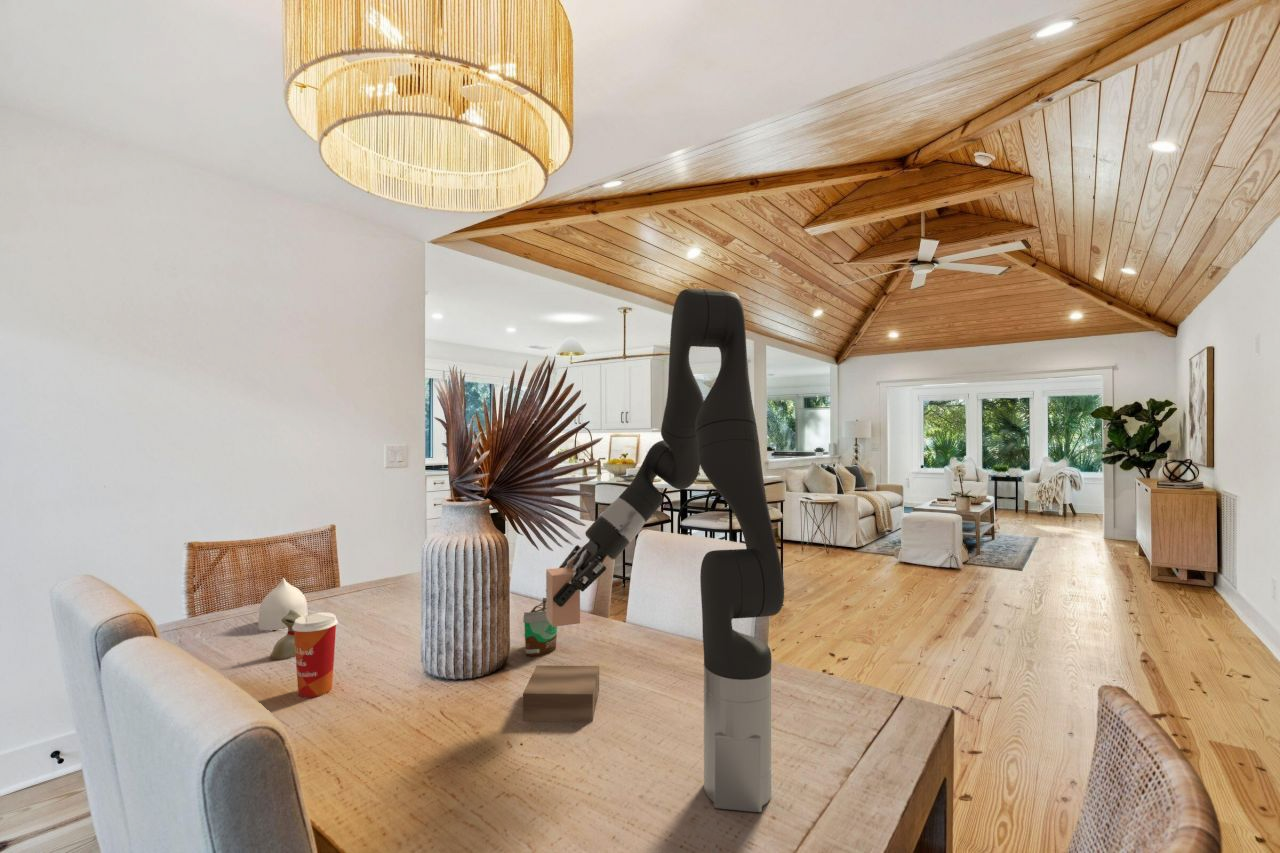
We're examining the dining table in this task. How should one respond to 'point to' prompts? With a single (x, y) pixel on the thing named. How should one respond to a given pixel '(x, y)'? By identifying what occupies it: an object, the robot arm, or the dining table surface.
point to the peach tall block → (571, 608)
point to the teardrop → (281, 606)
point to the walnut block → (561, 693)
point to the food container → (539, 632)
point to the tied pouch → (286, 639)
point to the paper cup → (315, 653)
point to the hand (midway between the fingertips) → (553, 598)
